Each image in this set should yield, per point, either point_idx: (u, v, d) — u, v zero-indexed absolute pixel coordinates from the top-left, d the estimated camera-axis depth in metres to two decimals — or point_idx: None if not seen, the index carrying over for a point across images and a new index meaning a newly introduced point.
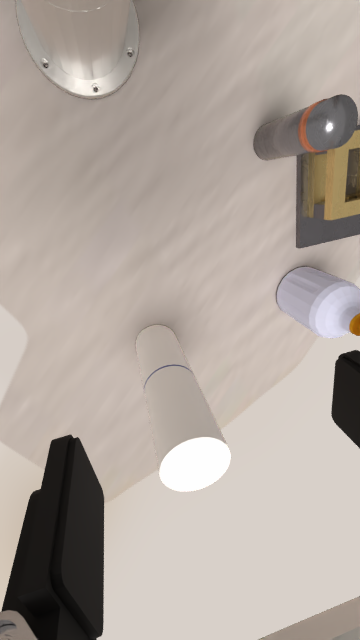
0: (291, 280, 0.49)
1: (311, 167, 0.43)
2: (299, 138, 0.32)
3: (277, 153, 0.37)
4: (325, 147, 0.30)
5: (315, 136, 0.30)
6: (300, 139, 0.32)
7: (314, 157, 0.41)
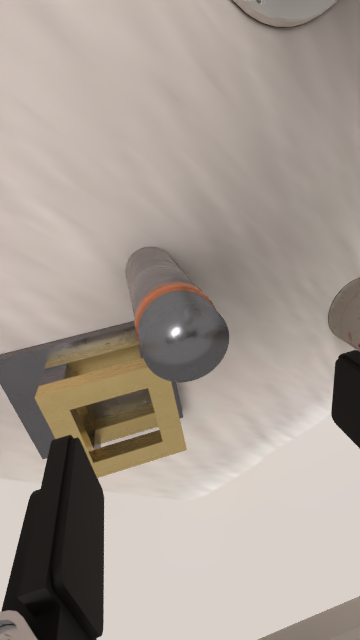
0: None
1: (121, 345, 0.28)
2: (156, 288, 0.16)
3: (133, 275, 0.22)
4: (142, 335, 0.14)
5: (160, 308, 0.14)
6: (154, 290, 0.16)
7: (135, 344, 0.27)
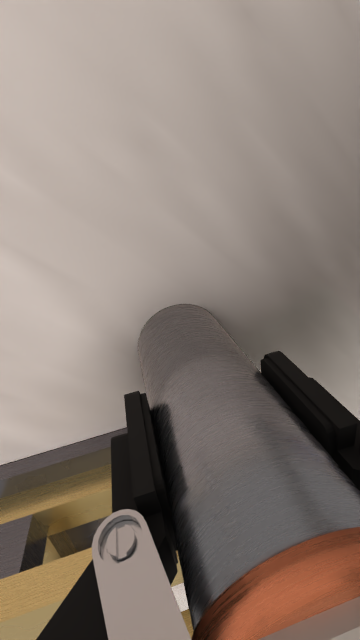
0: None
1: None
2: (271, 554, 0.05)
3: (161, 390, 0.10)
4: None
5: None
6: (275, 582, 0.04)
7: None
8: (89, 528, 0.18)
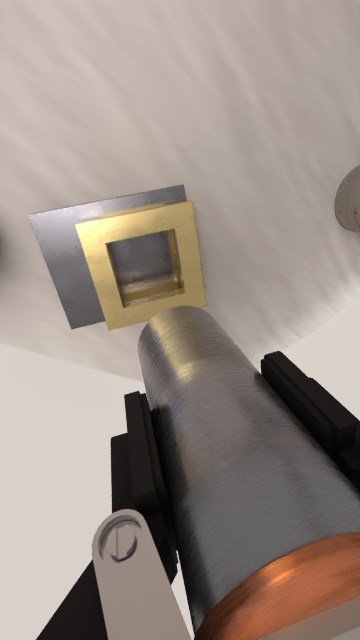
0: None
1: (147, 205, 0.30)
2: (273, 558, 0.05)
3: (162, 391, 0.10)
4: None
5: None
6: (277, 588, 0.04)
7: (160, 203, 0.30)
8: (123, 256, 0.33)
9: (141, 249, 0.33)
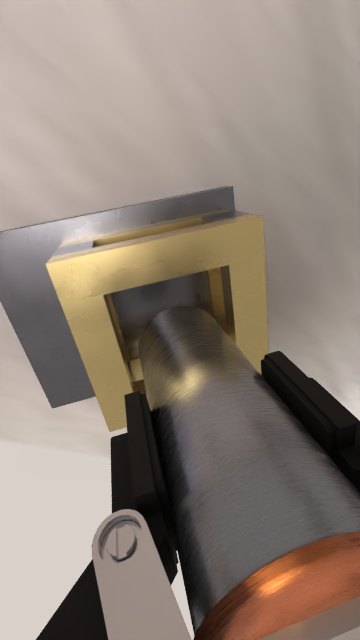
0: None
1: (174, 221, 0.18)
2: (272, 558, 0.05)
3: (162, 391, 0.10)
4: None
5: None
6: (276, 588, 0.04)
7: (196, 217, 0.18)
8: (133, 300, 0.20)
9: (161, 288, 0.21)
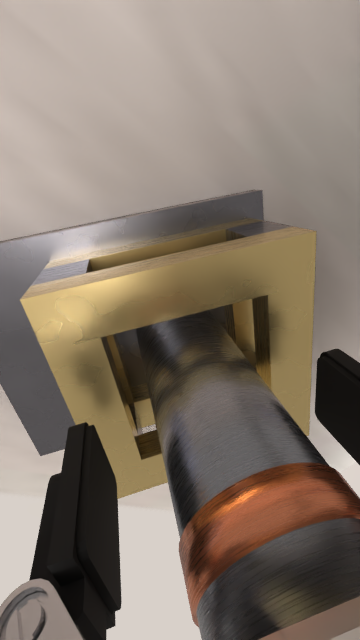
0: None
1: (190, 233, 0.14)
2: (237, 480, 0.07)
3: (157, 367, 0.12)
4: None
5: None
6: (238, 497, 0.06)
7: (219, 229, 0.14)
8: None
9: None
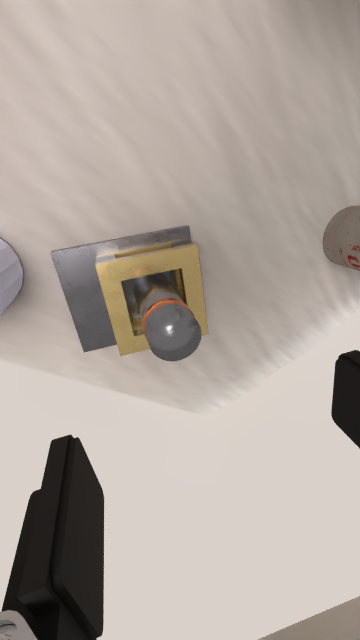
0: None
1: (156, 244, 0.34)
2: (156, 302, 0.26)
3: (140, 291, 0.31)
4: (148, 330, 0.24)
5: (159, 314, 0.23)
6: (155, 303, 0.26)
7: (168, 243, 0.34)
8: None
9: None
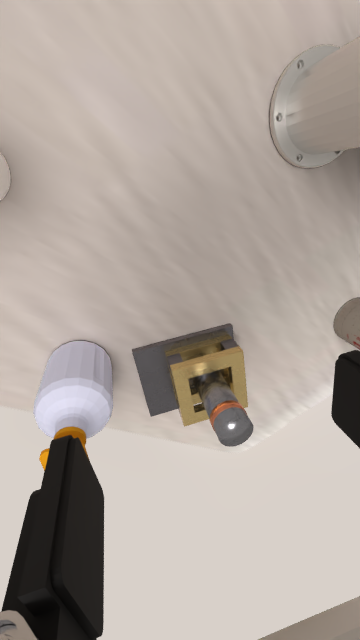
0: (96, 352, 0.41)
1: (209, 342, 0.45)
2: (220, 403, 0.37)
3: (200, 383, 0.43)
4: (218, 429, 0.35)
5: (226, 419, 0.35)
6: (220, 405, 0.37)
7: (218, 341, 0.45)
8: None
9: None
